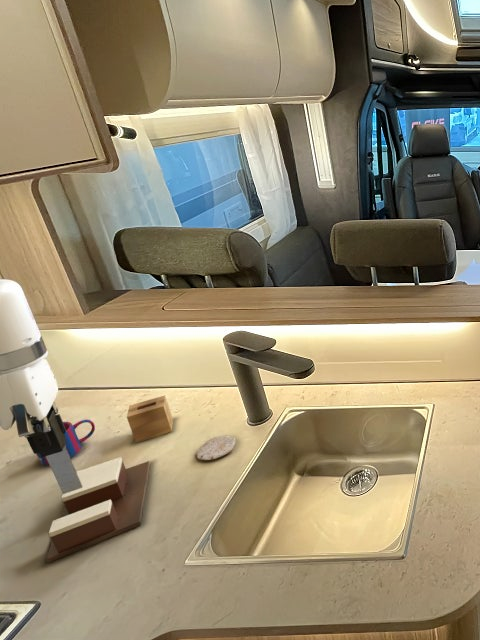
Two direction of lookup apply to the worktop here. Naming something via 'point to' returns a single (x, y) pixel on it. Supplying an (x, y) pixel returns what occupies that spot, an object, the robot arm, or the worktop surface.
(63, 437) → the knife
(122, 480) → the cake
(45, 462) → the mug
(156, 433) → the knife block
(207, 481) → the worktop surface
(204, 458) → the flatbread
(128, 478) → the cake board
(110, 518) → the cake slice
